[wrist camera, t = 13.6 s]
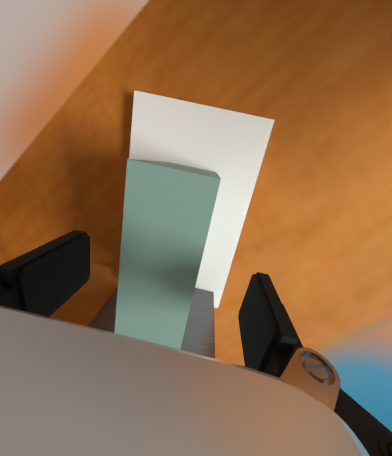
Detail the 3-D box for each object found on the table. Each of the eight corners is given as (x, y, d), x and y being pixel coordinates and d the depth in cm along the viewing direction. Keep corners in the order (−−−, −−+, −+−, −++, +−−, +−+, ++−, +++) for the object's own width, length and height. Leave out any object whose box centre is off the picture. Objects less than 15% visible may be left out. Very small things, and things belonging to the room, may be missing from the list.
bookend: (213, 292, 21) (215, 392, 12) (211, 300, 22) (211, 403, 12) (128, 273, 22) (63, 357, 12) (127, 281, 22) (64, 370, 12)
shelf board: (269, 123, 17) (274, 119, 16) (217, 299, 24) (217, 308, 22) (140, 96, 17) (134, 90, 16) (124, 279, 24) (119, 286, 22)
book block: (216, 172, 17) (220, 178, 9) (191, 280, 21) (178, 357, 13) (168, 162, 17) (127, 158, 9) (152, 271, 21) (113, 343, 13)
